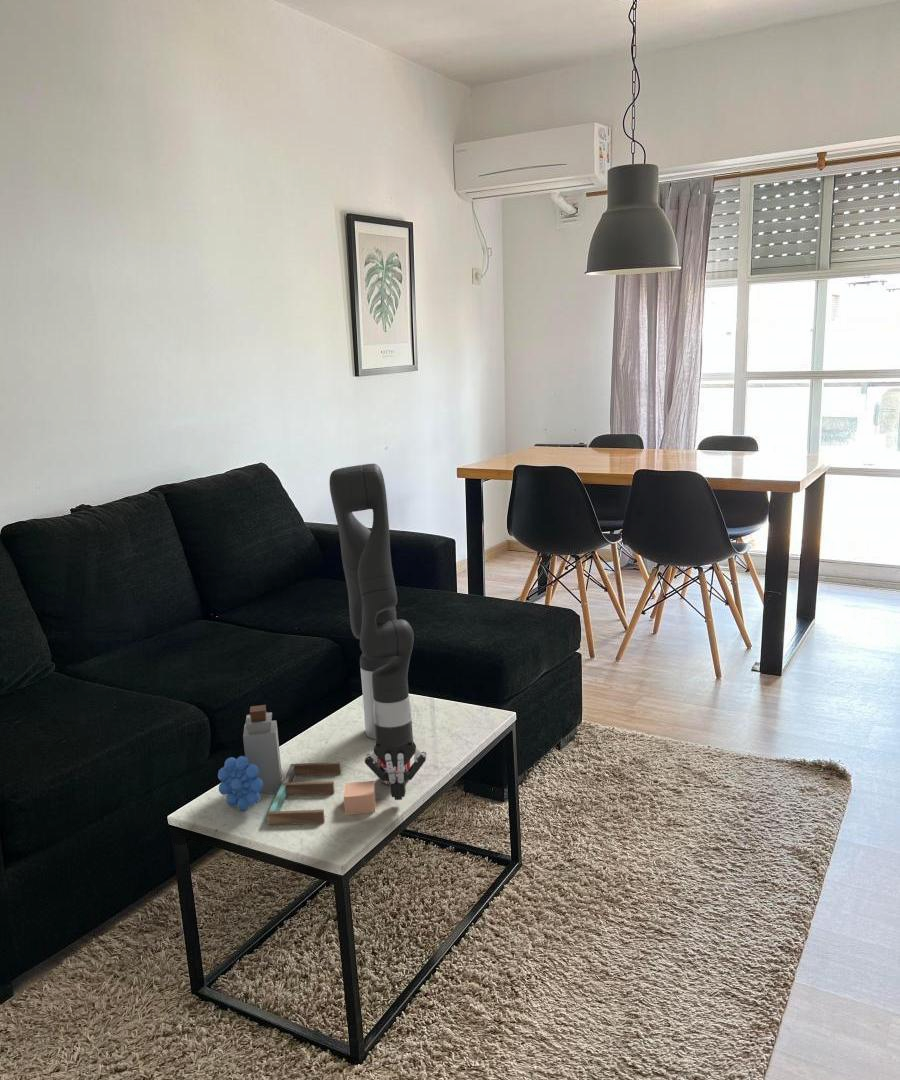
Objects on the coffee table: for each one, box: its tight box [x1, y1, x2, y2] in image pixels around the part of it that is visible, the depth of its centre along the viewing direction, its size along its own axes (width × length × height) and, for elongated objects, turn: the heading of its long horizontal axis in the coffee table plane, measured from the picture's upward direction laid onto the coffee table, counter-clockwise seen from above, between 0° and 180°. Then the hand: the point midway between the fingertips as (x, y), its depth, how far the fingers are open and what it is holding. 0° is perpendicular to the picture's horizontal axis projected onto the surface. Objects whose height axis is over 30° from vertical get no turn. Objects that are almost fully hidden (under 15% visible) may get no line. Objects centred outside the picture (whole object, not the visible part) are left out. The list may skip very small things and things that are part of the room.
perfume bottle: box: [242, 704, 283, 795], centre depth 193 cm, size 7×7×18 cm
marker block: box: [343, 780, 377, 815], centre depth 183 cm, size 6×6×4 cm
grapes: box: [217, 755, 263, 811], centre depth 184 cm, size 12×7×12 cm, turn 62°
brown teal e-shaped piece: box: [267, 761, 342, 826], centre depth 188 cm, size 22×11×2 cm, turn 178°
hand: (398, 798), depth 183 cm, fingers closed
